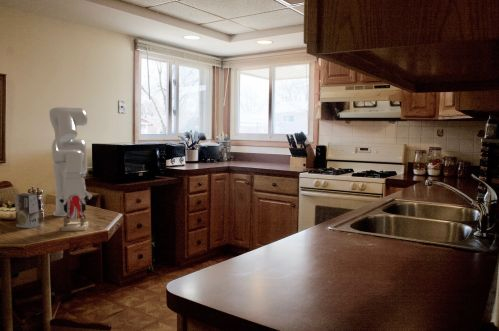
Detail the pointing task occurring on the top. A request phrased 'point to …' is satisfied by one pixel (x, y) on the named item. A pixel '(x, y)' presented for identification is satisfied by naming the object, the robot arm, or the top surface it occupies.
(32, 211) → the coffee box
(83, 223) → the peg stand
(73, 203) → the soda can
